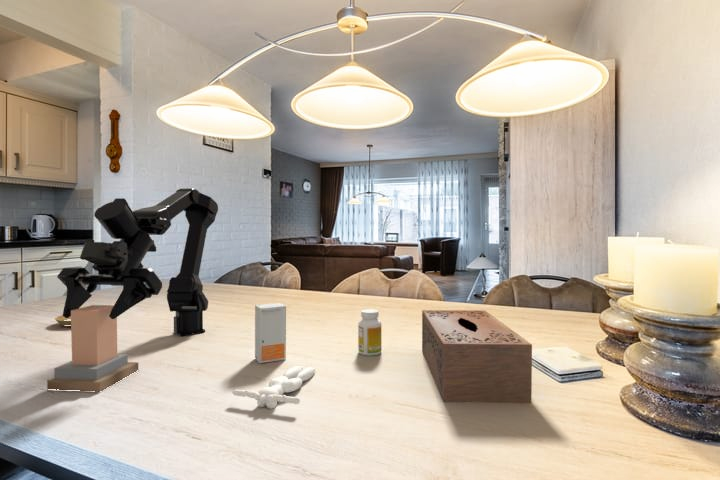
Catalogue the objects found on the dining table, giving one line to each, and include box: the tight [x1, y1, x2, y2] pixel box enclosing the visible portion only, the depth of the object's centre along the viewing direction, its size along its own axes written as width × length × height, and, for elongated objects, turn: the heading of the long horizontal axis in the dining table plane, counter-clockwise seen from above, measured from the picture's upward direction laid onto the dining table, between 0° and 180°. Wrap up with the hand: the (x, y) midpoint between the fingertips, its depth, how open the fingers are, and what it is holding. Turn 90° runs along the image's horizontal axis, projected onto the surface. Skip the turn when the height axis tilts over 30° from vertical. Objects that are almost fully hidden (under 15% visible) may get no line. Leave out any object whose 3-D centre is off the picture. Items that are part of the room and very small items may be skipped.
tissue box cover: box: [421, 309, 533, 404], centre depth 74 cm, size 26×14×10 cm, turn 178°
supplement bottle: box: [357, 308, 383, 357], centre depth 87 cm, size 5×5×10 cm
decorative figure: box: [232, 365, 316, 410], centre depth 67 cm, size 4×12×18 cm
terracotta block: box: [70, 304, 119, 365], centre depth 71 cm, size 5×5×10 cm
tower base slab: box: [46, 361, 139, 393], centre depth 71 cm, size 10×10×2 cm
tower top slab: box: [53, 353, 129, 380], centre depth 71 cm, size 8×8×2 cm
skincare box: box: [254, 302, 287, 364], centre depth 82 cm, size 6×4×12 cm
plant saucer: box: [54, 314, 71, 326], centre depth 115 cm, size 15×15×3 cm
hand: (87, 317), depth 69 cm, fingers open, 9 cm apart
